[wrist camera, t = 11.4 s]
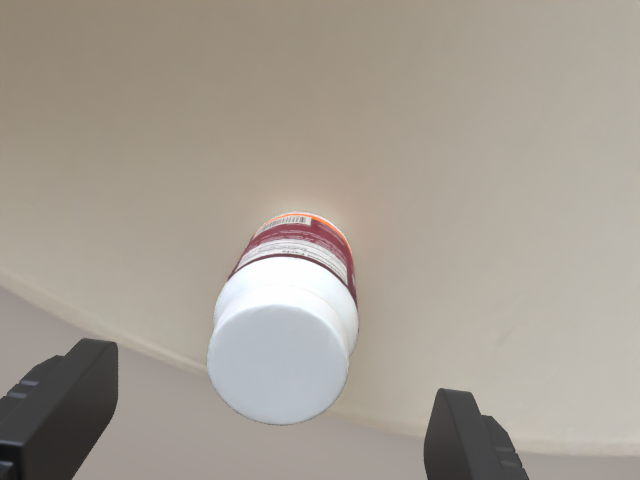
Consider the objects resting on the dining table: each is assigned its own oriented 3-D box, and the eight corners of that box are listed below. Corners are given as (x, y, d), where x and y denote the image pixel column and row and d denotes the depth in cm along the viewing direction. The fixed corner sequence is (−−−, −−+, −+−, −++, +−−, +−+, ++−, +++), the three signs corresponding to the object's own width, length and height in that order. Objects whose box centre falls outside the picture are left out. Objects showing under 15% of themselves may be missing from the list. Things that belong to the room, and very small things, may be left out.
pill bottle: (325, 325, 22) (317, 461, 14) (231, 282, 22) (168, 399, 14) (373, 237, 21) (393, 335, 13) (273, 190, 20) (230, 261, 12)
